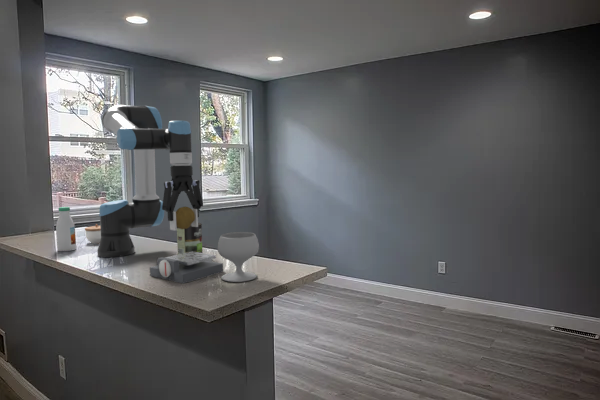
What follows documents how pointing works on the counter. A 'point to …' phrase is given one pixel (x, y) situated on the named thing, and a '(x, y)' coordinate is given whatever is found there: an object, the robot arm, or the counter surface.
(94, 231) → the lidded jar
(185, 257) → the platform
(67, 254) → the counter surface
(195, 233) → the coffee can
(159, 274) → the scale base
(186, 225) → the potato
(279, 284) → the counter surface
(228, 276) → the chalice
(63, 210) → the milk bottle
